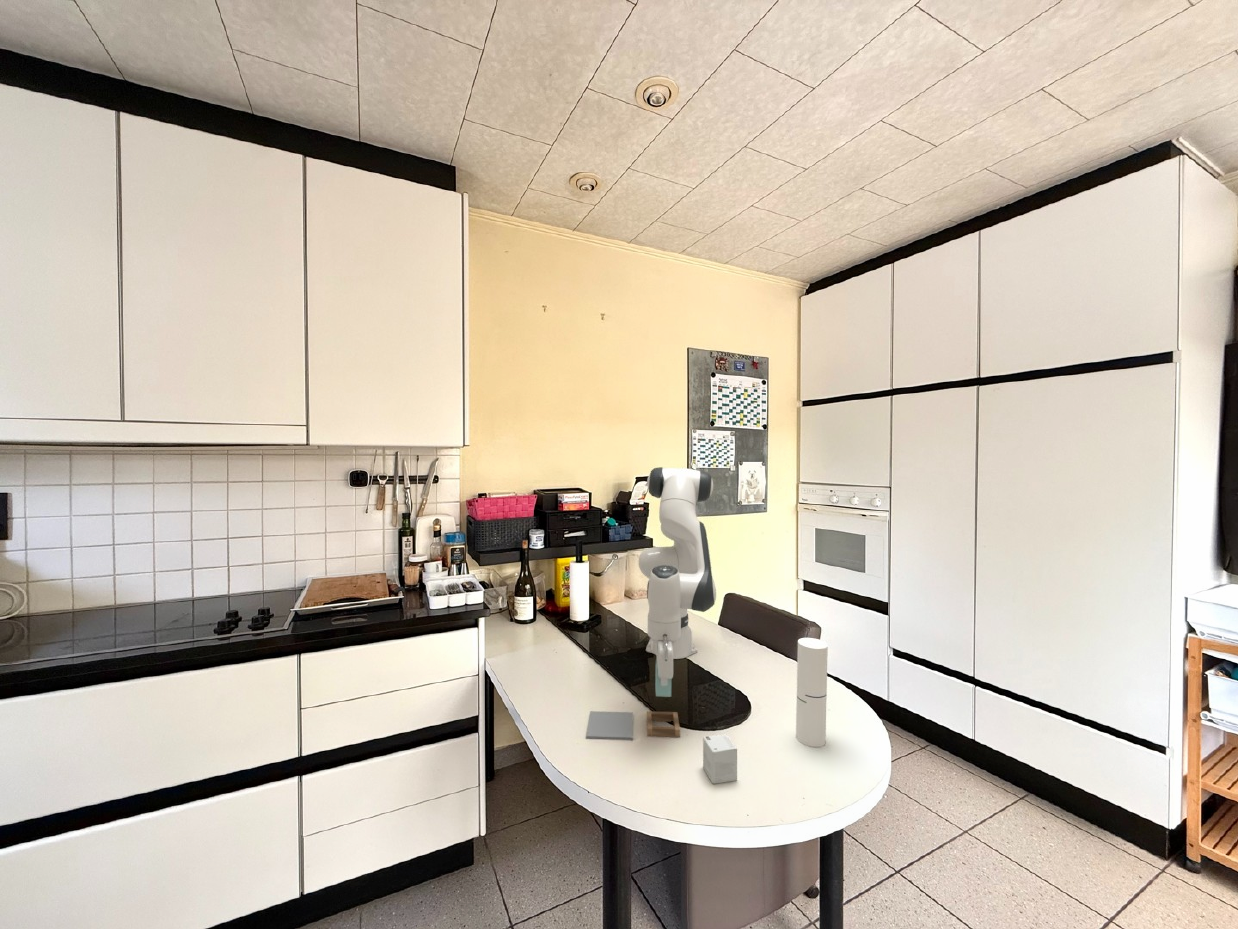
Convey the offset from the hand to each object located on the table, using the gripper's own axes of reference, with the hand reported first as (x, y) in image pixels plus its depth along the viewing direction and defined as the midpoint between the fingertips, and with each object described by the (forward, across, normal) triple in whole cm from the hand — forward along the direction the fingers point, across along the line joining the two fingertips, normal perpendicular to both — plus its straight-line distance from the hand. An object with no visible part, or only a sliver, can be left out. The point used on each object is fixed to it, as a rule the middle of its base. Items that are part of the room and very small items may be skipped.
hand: (663, 679), depth 130 cm
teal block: (+4, 0, 0) cm, 4 cm away
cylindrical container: (+13, -3, -38) cm, 40 cm away
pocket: (+13, 0, 0) cm, 13 cm away
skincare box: (+13, -18, -12) cm, 25 cm away
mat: (+13, 0, +14) cm, 19 cm away
